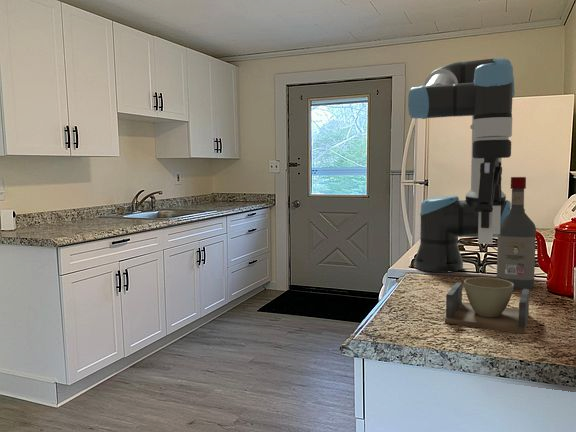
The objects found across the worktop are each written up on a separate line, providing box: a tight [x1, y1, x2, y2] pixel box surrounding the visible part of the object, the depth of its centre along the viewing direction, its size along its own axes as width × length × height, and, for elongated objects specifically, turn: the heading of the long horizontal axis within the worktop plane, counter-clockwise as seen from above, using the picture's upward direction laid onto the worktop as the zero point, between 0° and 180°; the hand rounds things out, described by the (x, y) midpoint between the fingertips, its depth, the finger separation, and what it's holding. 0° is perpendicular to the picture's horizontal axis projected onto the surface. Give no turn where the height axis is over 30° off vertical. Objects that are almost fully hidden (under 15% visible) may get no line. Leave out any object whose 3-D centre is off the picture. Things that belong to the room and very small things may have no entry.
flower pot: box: [463, 276, 514, 317], centre depth 105 cm, size 10×10×7 cm
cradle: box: [444, 282, 530, 335], centre depth 105 cm, size 14×15×6 cm
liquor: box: [496, 176, 537, 291], centre depth 130 cm, size 9×9×30 cm
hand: (489, 238), depth 103 cm, fingers open, 13 cm apart
